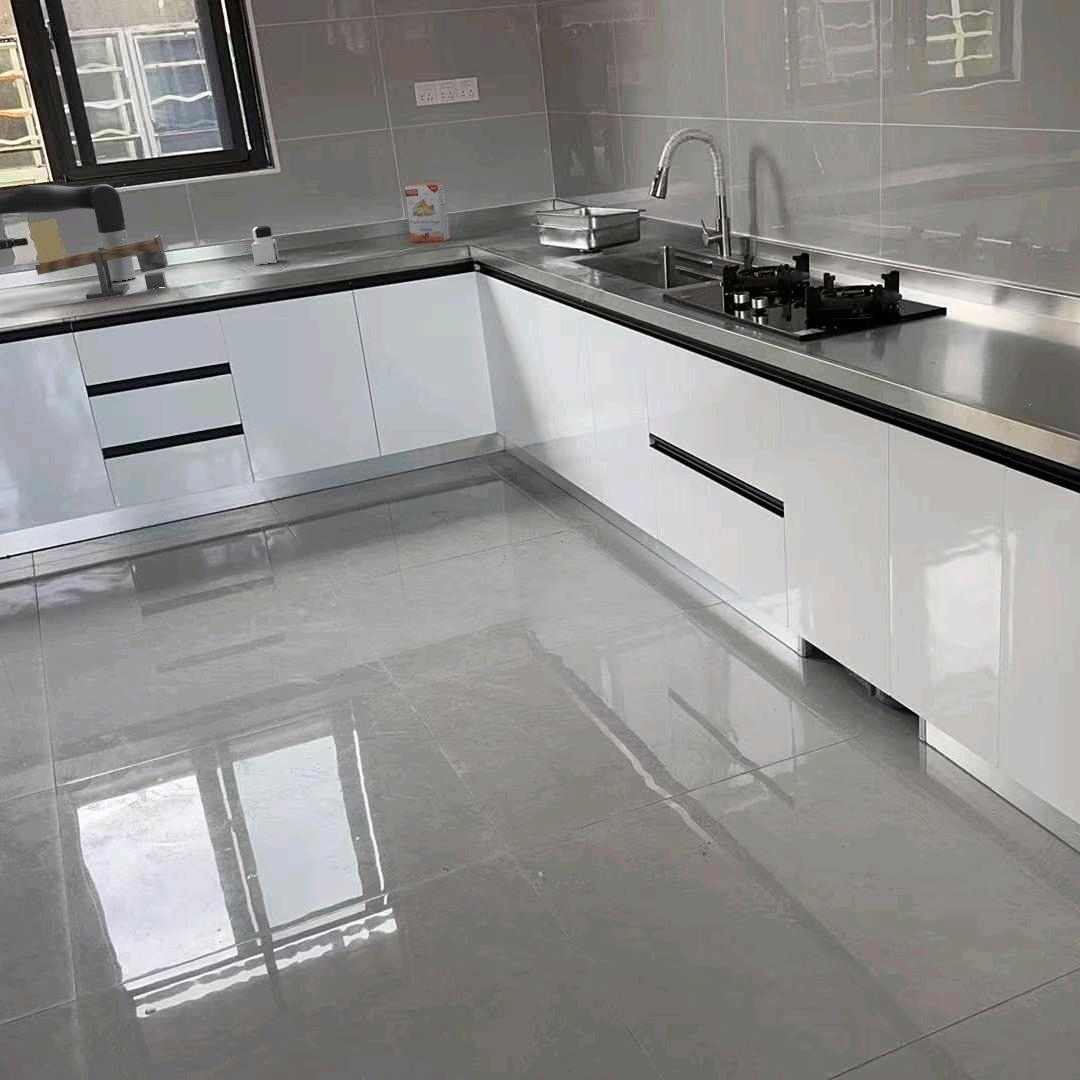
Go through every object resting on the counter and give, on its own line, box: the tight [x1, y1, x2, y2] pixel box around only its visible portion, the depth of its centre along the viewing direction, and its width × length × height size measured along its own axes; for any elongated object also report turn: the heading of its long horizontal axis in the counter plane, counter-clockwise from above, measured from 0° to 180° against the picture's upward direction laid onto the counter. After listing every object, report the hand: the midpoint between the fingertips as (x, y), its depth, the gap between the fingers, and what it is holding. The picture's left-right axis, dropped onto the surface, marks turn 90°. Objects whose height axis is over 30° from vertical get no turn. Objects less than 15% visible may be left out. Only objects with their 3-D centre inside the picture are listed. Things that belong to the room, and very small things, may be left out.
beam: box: [35, 234, 169, 276], centre depth 403 cm, size 40×9×10 cm, turn 101°
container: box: [250, 225, 280, 266], centre depth 441 cm, size 8×8×13 cm
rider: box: [27, 217, 69, 264], centre depth 398 cm, size 8×5×14 cm, turn 101°
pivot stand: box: [85, 247, 168, 300], centre depth 405 cm, size 25×16×14 cm, turn 101°
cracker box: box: [404, 182, 451, 243], centre depth 454 cm, size 14×6×21 cm, turn 67°
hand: (27, 241), depth 396 cm, fingers closed
